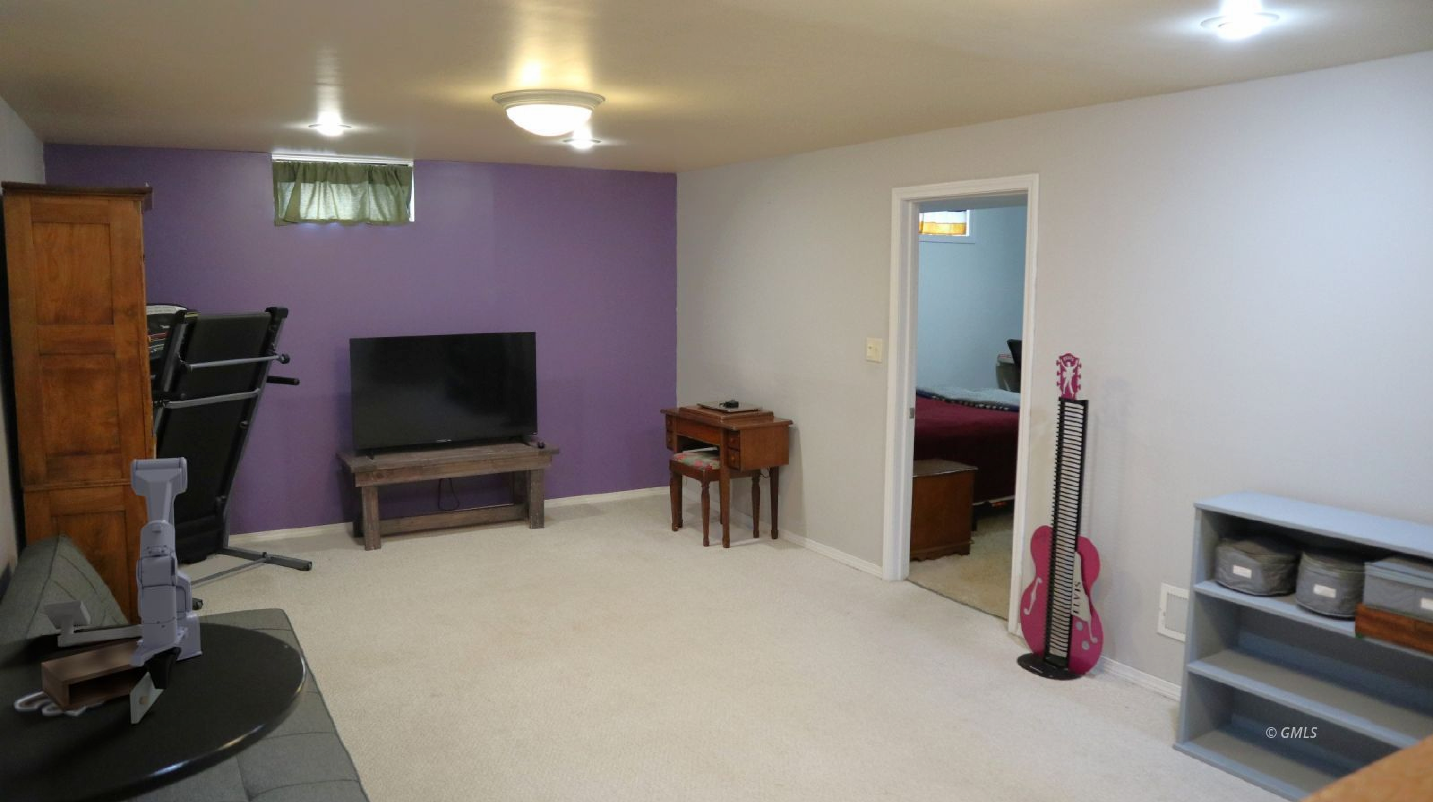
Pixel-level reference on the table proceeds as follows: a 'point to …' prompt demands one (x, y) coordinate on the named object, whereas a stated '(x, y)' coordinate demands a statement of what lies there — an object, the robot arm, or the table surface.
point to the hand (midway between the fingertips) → (162, 687)
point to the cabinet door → (142, 698)
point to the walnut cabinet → (91, 676)
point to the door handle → (82, 624)
